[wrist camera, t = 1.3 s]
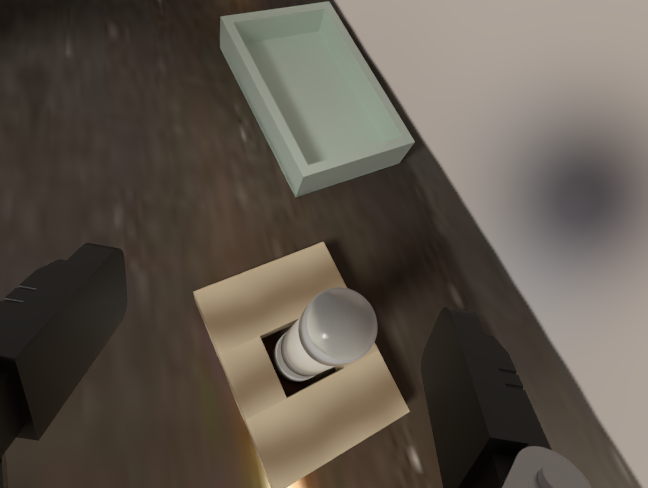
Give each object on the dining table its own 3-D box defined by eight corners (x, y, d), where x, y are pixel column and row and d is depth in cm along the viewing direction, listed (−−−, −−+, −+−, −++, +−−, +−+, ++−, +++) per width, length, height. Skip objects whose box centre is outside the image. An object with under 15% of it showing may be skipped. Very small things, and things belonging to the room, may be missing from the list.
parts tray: (219, 47, 46) (220, 16, 43) (320, 30, 51) (329, 1, 48) (295, 197, 42) (303, 176, 38) (399, 163, 46) (415, 141, 43)
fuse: (264, 344, 36) (292, 304, 23) (307, 324, 37) (356, 276, 24) (285, 390, 34) (325, 376, 22) (328, 368, 36) (390, 342, 23)
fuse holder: (194, 299, 35) (193, 291, 33) (317, 251, 40) (323, 241, 38) (271, 488, 32) (275, 494, 29) (397, 411, 36) (409, 411, 34)
